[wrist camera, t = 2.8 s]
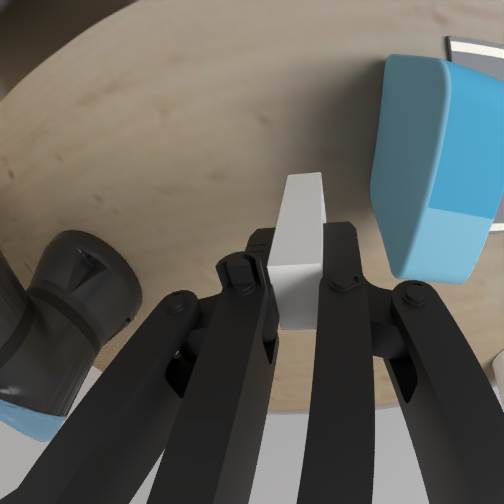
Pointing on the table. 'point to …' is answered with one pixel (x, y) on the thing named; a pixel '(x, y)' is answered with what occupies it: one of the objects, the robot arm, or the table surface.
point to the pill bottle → (499, 373)
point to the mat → (490, 63)
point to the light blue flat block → (437, 166)
